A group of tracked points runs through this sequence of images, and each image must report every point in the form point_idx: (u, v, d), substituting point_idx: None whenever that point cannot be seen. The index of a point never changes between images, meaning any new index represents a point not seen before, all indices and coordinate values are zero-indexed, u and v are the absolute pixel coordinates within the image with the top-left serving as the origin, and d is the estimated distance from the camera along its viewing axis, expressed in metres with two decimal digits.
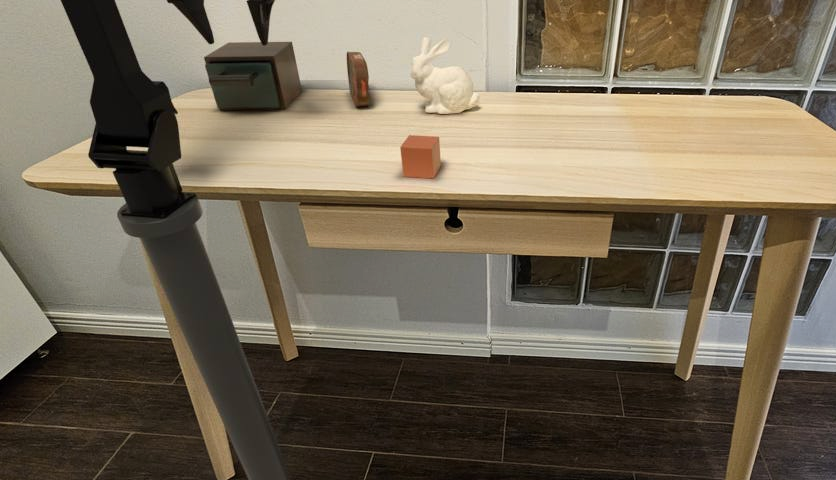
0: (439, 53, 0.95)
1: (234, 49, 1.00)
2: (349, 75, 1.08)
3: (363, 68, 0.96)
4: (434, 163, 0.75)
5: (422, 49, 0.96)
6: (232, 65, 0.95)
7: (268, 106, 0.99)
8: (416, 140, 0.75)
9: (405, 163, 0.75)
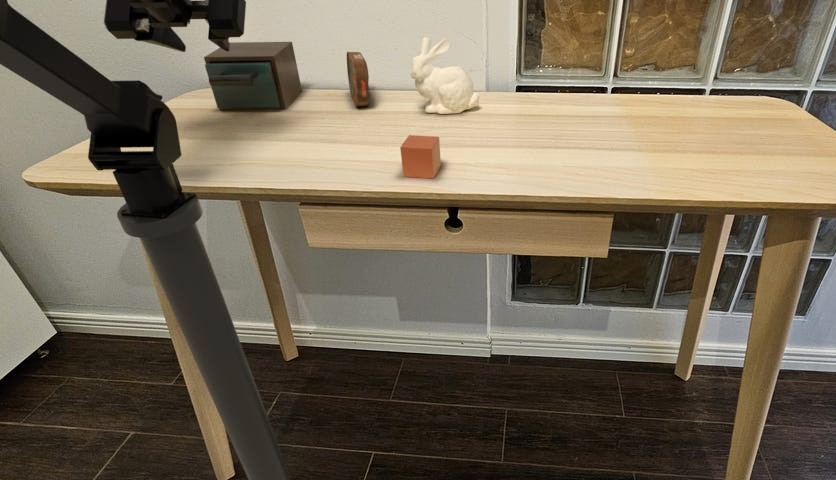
0: (439, 53, 0.95)
1: (234, 49, 1.00)
2: (349, 75, 1.08)
3: (363, 68, 0.96)
4: (434, 163, 0.75)
5: (422, 49, 0.96)
6: (232, 65, 0.95)
7: (268, 106, 0.99)
8: (416, 140, 0.75)
9: (405, 163, 0.75)
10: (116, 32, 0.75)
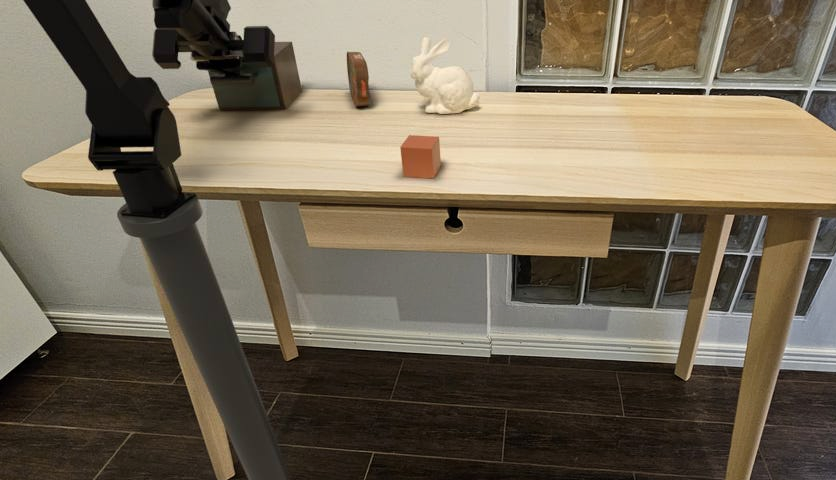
0: (439, 53, 0.95)
1: None
2: (349, 75, 1.08)
3: (363, 68, 0.96)
4: (434, 163, 0.75)
5: (422, 49, 0.96)
6: None
7: (269, 105, 0.99)
8: (416, 140, 0.75)
9: (405, 163, 0.75)
10: (163, 64, 0.86)
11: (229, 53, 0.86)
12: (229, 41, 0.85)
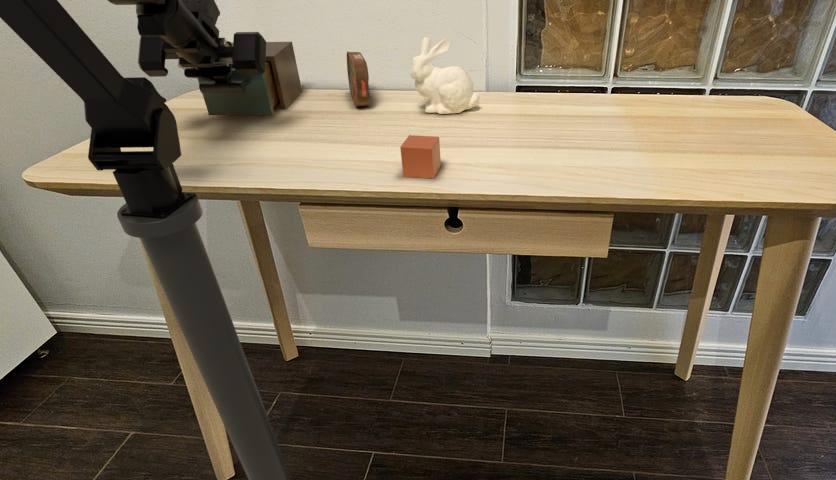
0: (439, 53, 0.95)
1: None
2: (349, 75, 1.08)
3: (363, 68, 0.96)
4: (434, 163, 0.75)
5: (422, 49, 0.96)
6: None
7: (261, 113, 0.96)
8: (416, 140, 0.75)
9: (405, 163, 0.75)
10: (149, 71, 0.82)
11: (218, 60, 0.82)
12: (218, 48, 0.82)
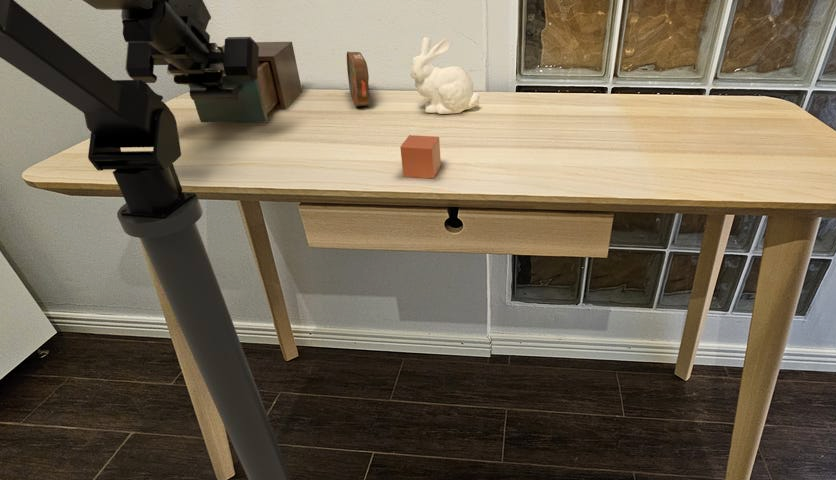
0: (439, 53, 0.95)
1: None
2: (349, 75, 1.08)
3: (363, 68, 0.96)
4: (434, 163, 0.75)
5: (422, 49, 0.96)
6: None
7: (254, 120, 0.93)
8: (416, 140, 0.75)
9: (405, 163, 0.75)
10: (137, 78, 0.79)
11: (209, 66, 0.80)
12: (209, 53, 0.79)
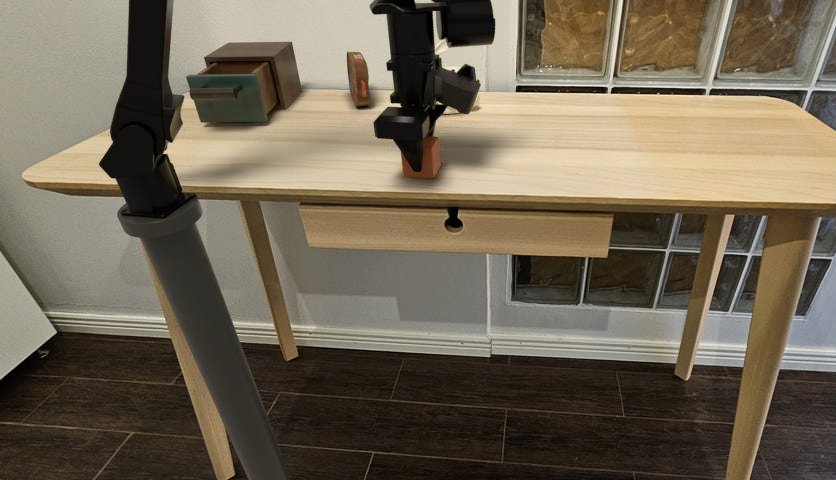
0: (439, 53, 0.95)
1: (234, 49, 1.00)
2: (349, 75, 1.08)
3: (363, 68, 0.96)
4: (434, 163, 0.75)
5: None
6: (215, 77, 0.88)
7: (254, 120, 0.93)
8: None
9: (405, 163, 0.75)
10: None
11: None
12: (412, 105, 0.69)
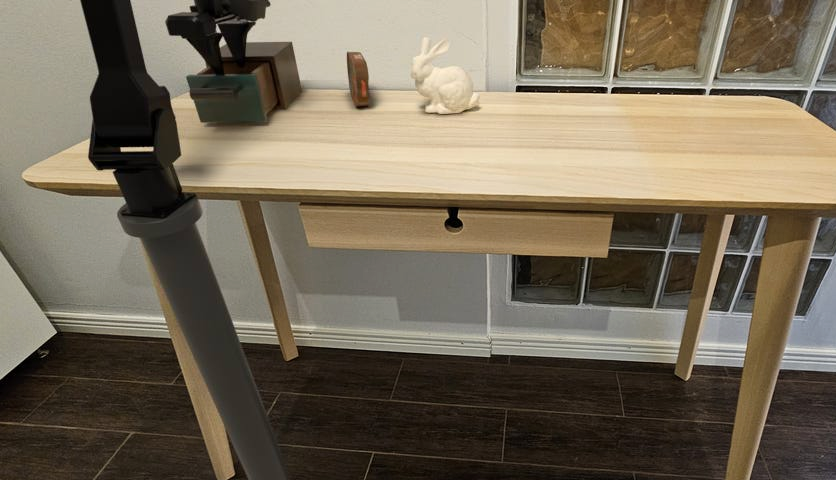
0: (439, 53, 0.95)
1: None
2: (349, 75, 1.09)
3: (363, 68, 0.96)
4: None
5: (422, 49, 0.96)
6: (215, 77, 0.88)
7: (254, 120, 0.93)
8: None
9: None
10: None
11: (211, 15, 0.88)
12: None
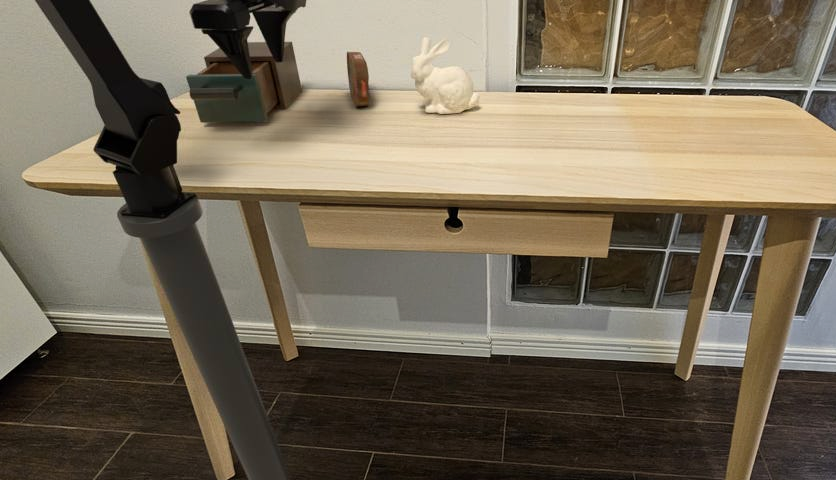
0: (439, 53, 0.95)
1: None
2: (349, 75, 1.09)
3: (363, 68, 0.96)
4: None
5: (422, 49, 0.96)
6: (215, 77, 0.88)
7: (254, 120, 0.93)
8: None
9: None
10: None
11: None
12: None
